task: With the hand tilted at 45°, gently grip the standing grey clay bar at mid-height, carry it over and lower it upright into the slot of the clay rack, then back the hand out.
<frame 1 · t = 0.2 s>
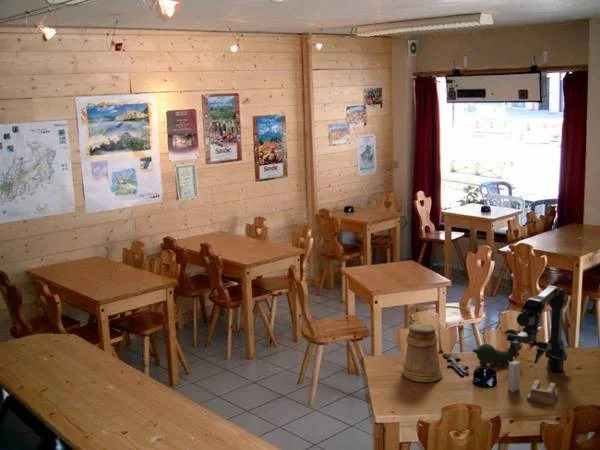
hand: (525, 361, 318), 15 cm above the table, tool tilted 15°, fingers open, 9 cm apart
tankard: (420, 373, 345), on the table
nameplate: (455, 366, 353), on the table
clay bar: (513, 389, 325), on the table
toy figurine: (495, 365, 354), on the table
clay rack: (542, 397, 317), on the table
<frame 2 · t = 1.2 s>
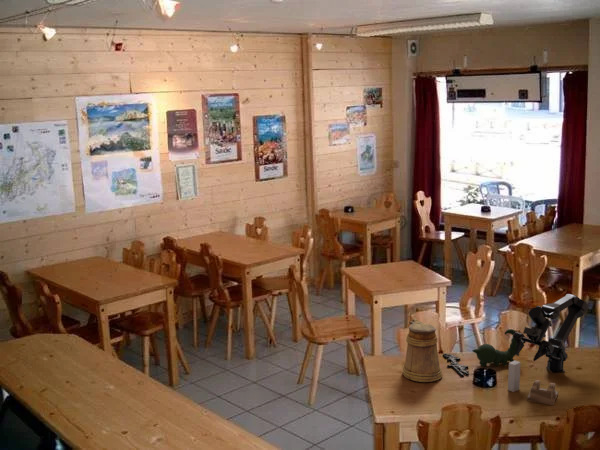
hand: (524, 357, 327), 13 cm above the table, tool tilted 45°, fingers open, 9 cm apart
nothing on the table moved.
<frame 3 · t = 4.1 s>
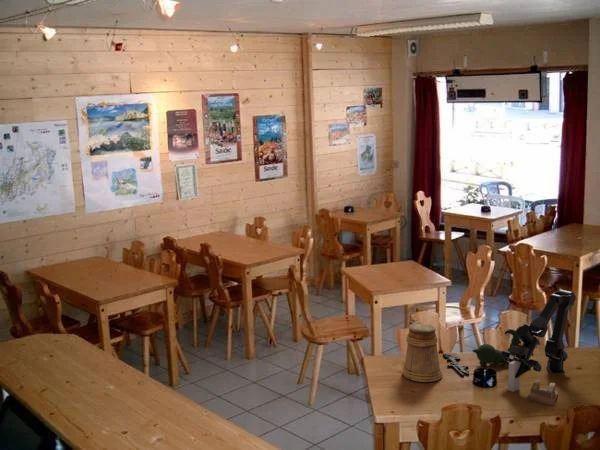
hand: (512, 376, 323), 7 cm above the table, tool tilted 45°, fingers closed on clay bar, 3 cm apart
clay bar: (513, 389, 325), on the table, touching gripper
everything else where it was.
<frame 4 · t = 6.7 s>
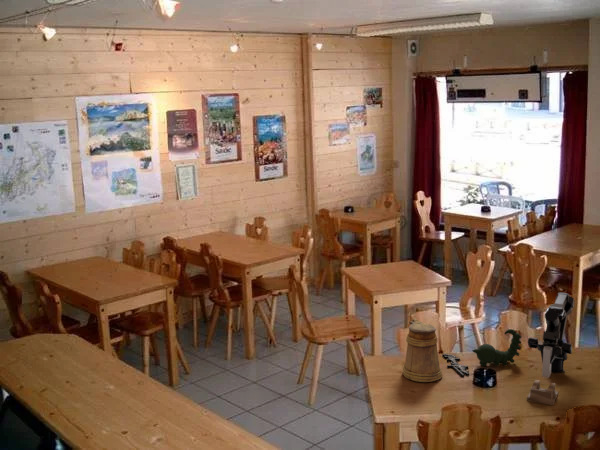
hand: (546, 362, 321), 13 cm above the table, tool tilted 45°, fingers closed on clay bar, 3 cm apart
clay bar: (546, 375, 324), point 7 cm above the table, touching gripper
everything else where it was.
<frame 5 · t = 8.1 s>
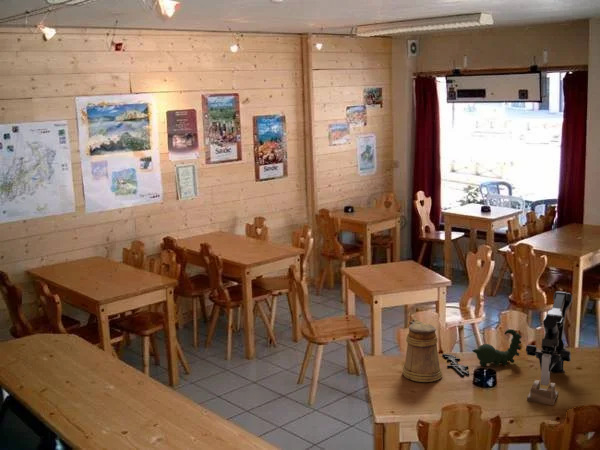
hand: (545, 370, 317), 12 cm above the table, tool tilted 45°, fingers closed on clay bar, 3 cm apart
clay bar: (545, 383, 320), point 5 cm above the table, touching gripper
everything else where it was.
when the fingers open (9 cm above the table, at t = 9.4 s): clay bar drops 1 cm, resting on clay rack.
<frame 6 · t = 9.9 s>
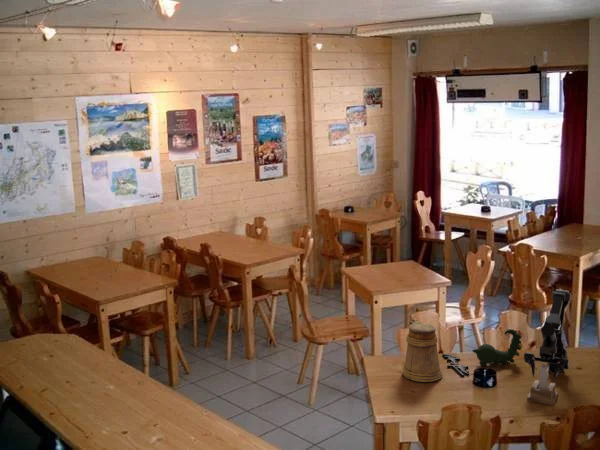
hand: (543, 378, 314), 10 cm above the table, tool tilted 45°, fingers open, 8 cm apart
clay bar: (542, 394, 317), point 1 cm above the table, touching clay rack
everything else where it was.
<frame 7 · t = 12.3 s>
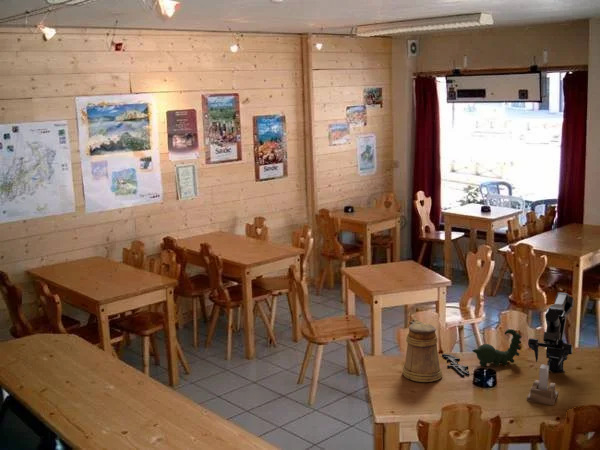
hand: (547, 363, 321), 13 cm above the table, tool tilted 45°, fingers open, 9 cm apart
nothing on the table moved.
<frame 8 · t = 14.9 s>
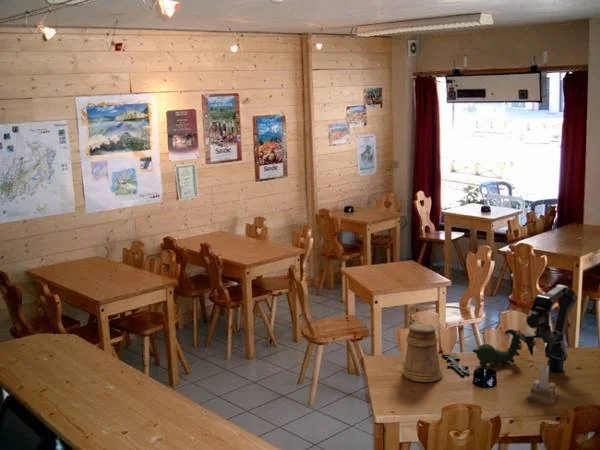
hand: (541, 354, 332), 13 cm above the table, tool pointing down, fingers open, 9 cm apart
nothing on the table moved.
at the end: clay bar 0.0 cm off-centre on the clay rack, point 1.5 cm above the clay rack's base; clay bar tilted 0°; the gripper is holding nothing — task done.
